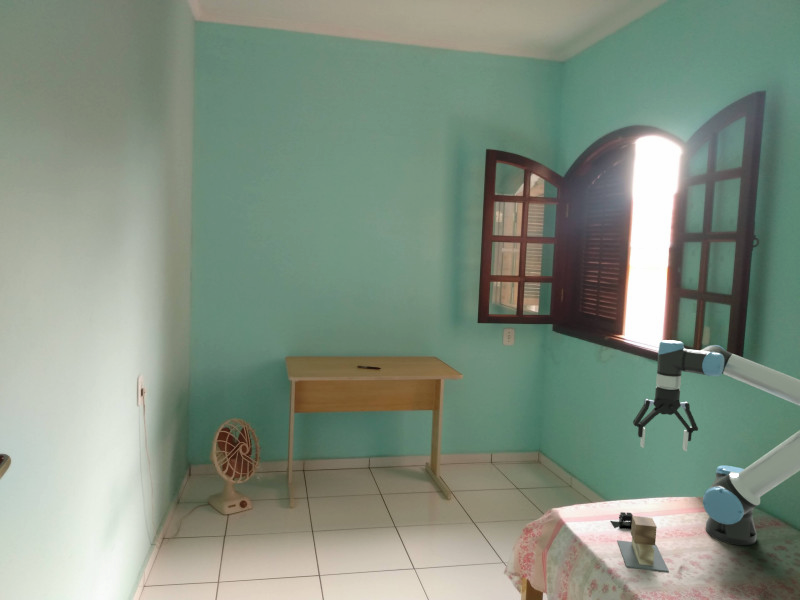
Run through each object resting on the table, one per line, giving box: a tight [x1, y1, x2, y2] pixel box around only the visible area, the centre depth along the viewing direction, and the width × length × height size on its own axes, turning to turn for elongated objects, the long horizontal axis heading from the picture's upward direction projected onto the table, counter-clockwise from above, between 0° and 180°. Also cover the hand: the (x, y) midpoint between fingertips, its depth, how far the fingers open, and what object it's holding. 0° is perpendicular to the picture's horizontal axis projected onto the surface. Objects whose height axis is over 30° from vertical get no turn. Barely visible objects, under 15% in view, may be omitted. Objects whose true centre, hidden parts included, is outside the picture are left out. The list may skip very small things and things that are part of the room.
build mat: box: [617, 539, 670, 573], centre depth 191 cm, size 12×16×1 cm
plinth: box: [631, 537, 654, 566], centre depth 191 cm, size 4×12×5 cm, turn 170°
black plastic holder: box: [610, 511, 634, 530], centre depth 211 cm, size 12×7×5 cm, turn 88°
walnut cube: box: [630, 515, 658, 545], centre depth 190 cm, size 6×6×6 cm
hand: (663, 448), depth 206 cm, fingers open, 13 cm apart
